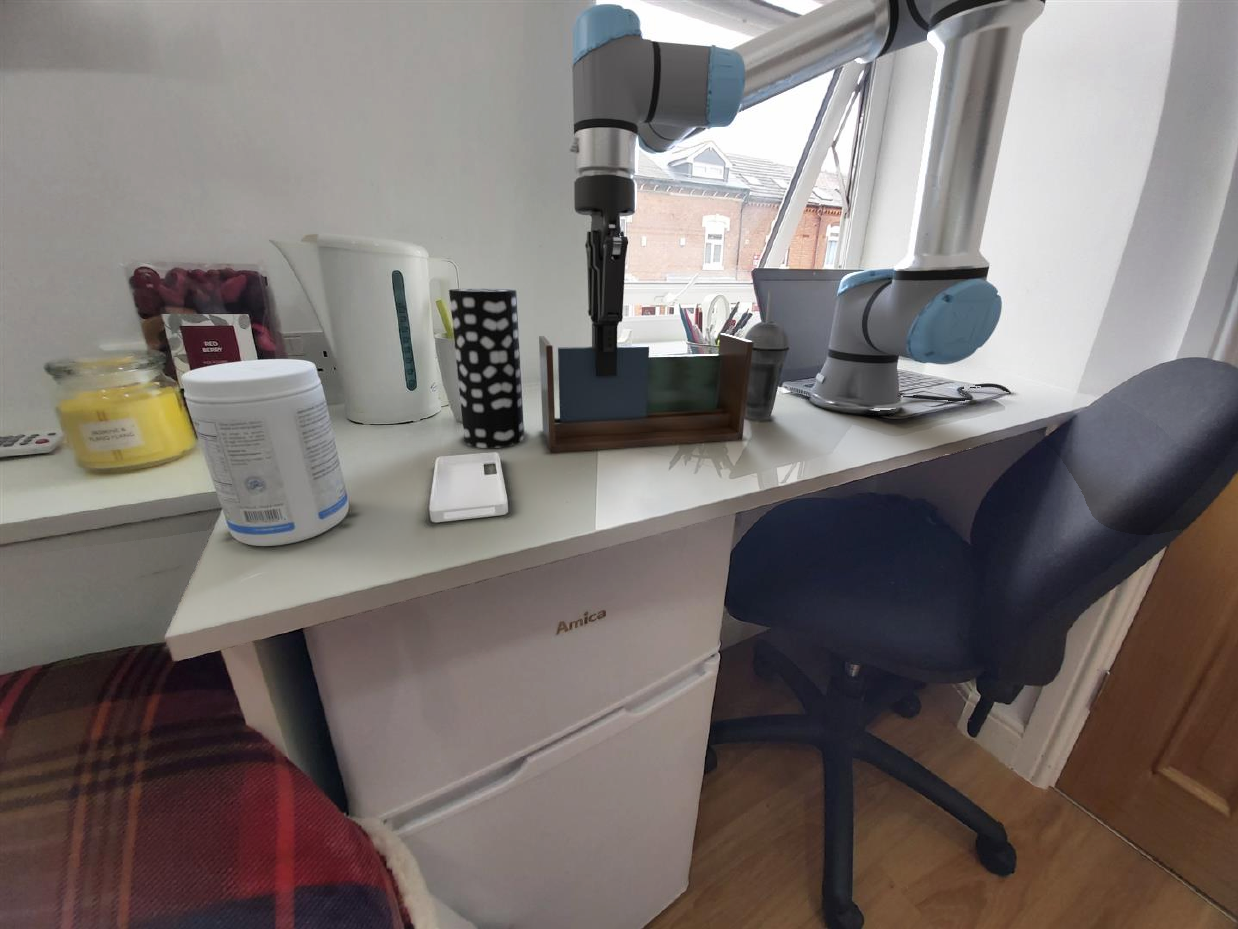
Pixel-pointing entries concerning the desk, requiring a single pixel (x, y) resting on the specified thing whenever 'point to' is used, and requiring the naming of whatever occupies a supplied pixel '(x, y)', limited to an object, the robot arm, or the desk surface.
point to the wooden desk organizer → (663, 402)
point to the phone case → (467, 488)
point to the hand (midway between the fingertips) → (604, 373)
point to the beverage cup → (765, 366)
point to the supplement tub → (268, 448)
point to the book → (602, 384)
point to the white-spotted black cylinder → (488, 366)
